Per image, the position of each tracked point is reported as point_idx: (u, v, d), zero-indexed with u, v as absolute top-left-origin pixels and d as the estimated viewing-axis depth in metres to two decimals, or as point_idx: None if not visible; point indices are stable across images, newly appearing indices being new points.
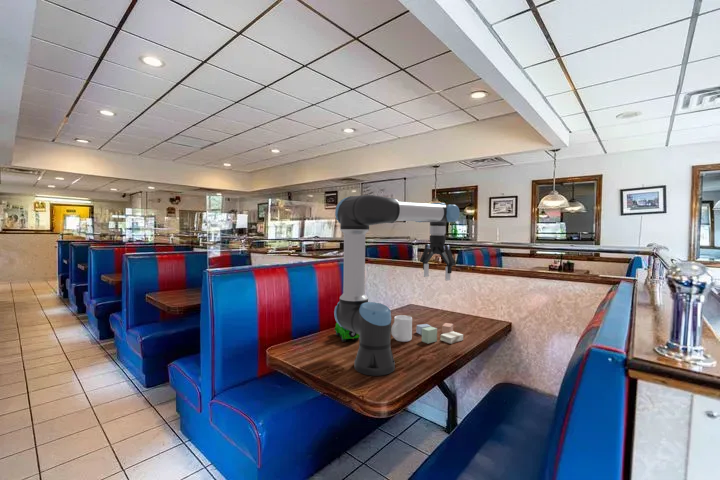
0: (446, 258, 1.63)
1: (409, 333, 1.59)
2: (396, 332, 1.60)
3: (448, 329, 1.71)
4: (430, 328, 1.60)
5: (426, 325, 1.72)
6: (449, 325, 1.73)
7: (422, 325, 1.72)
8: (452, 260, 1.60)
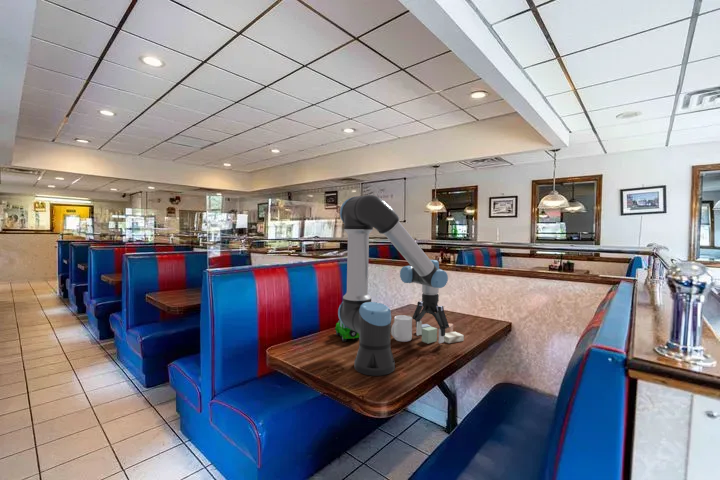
0: (439, 319, 1.55)
1: (409, 333, 1.59)
2: (396, 332, 1.60)
3: (448, 329, 1.71)
4: (430, 328, 1.60)
5: (426, 325, 1.72)
6: (449, 325, 1.73)
7: (422, 325, 1.72)
8: (445, 322, 1.52)
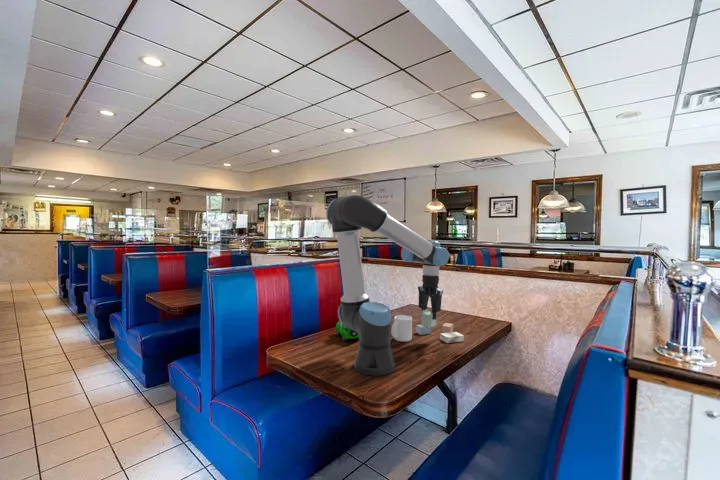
0: (434, 303, 1.56)
1: (409, 333, 1.59)
2: (396, 332, 1.60)
3: (448, 329, 1.71)
4: None
5: None
6: (449, 325, 1.73)
7: None
8: (439, 307, 1.54)
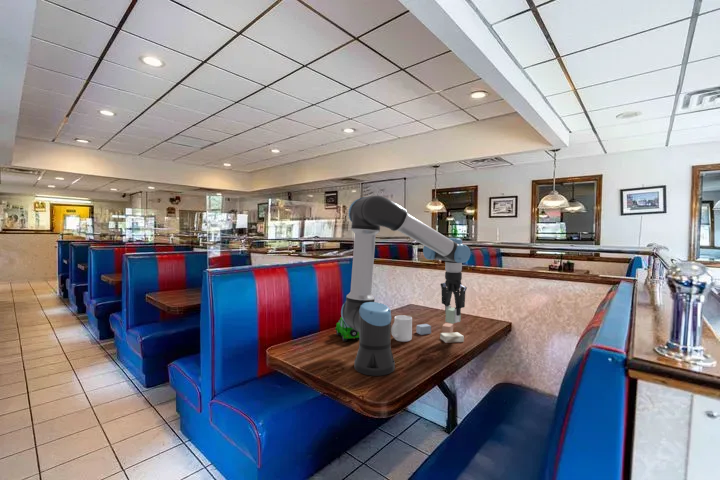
0: (458, 299, 1.58)
1: (409, 333, 1.59)
2: (396, 332, 1.60)
3: (448, 329, 1.71)
4: None
5: (426, 325, 1.72)
6: (449, 325, 1.73)
7: (422, 325, 1.72)
8: (463, 303, 1.57)
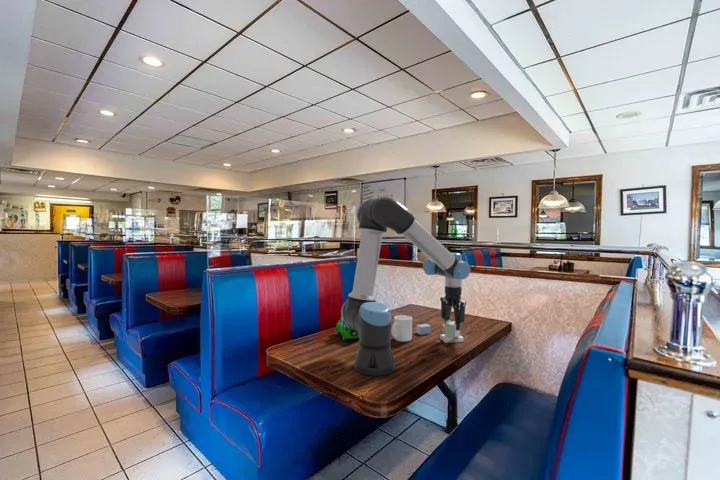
0: (457, 314, 1.59)
1: (409, 333, 1.59)
2: (396, 332, 1.60)
3: None
4: None
5: (426, 325, 1.72)
6: None
7: (422, 325, 1.72)
8: (462, 318, 1.57)
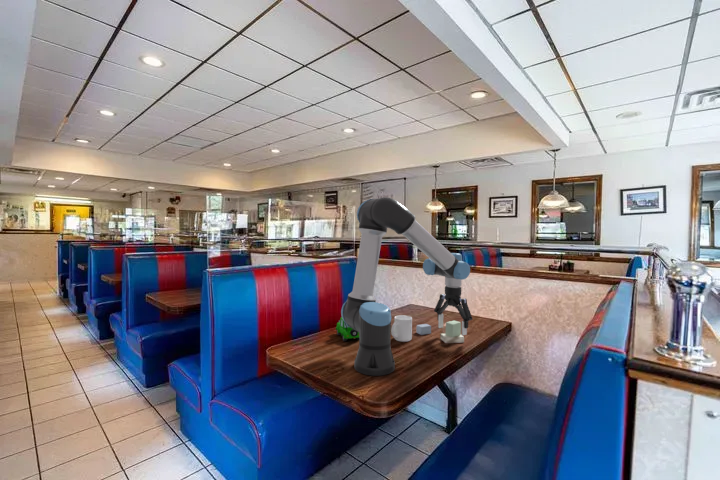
0: (462, 312, 1.56)
1: (409, 333, 1.59)
2: (396, 332, 1.60)
3: None
4: (454, 322, 1.61)
5: (426, 325, 1.72)
6: None
7: (422, 325, 1.72)
8: (469, 315, 1.54)
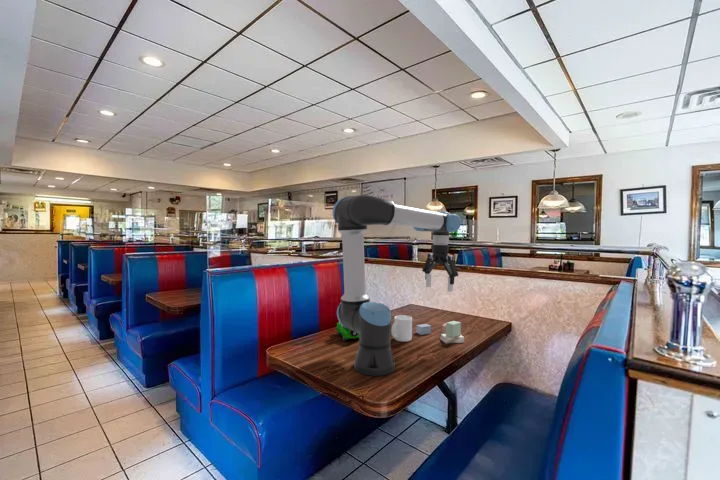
0: (449, 268, 1.58)
1: (409, 333, 1.59)
2: (396, 332, 1.60)
3: None
4: (454, 322, 1.61)
5: (426, 325, 1.72)
6: None
7: (422, 325, 1.72)
8: (455, 271, 1.56)
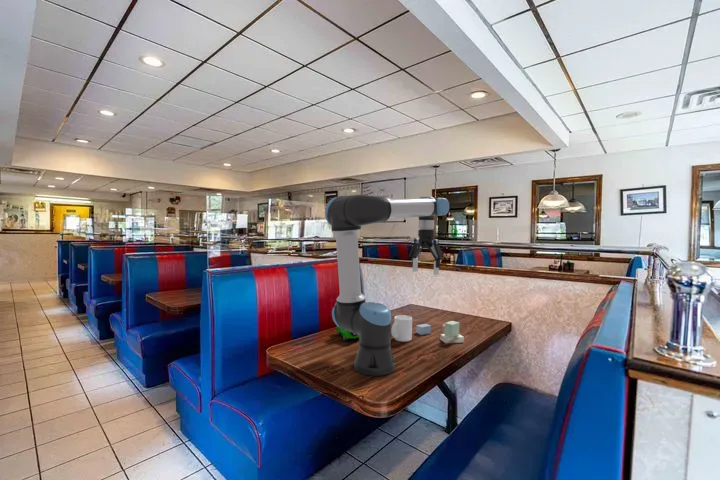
0: (434, 252, 1.61)
1: (409, 333, 1.59)
2: (396, 332, 1.60)
3: None
4: (453, 322, 1.61)
5: (426, 325, 1.72)
6: None
7: (422, 325, 1.72)
8: (440, 254, 1.59)
